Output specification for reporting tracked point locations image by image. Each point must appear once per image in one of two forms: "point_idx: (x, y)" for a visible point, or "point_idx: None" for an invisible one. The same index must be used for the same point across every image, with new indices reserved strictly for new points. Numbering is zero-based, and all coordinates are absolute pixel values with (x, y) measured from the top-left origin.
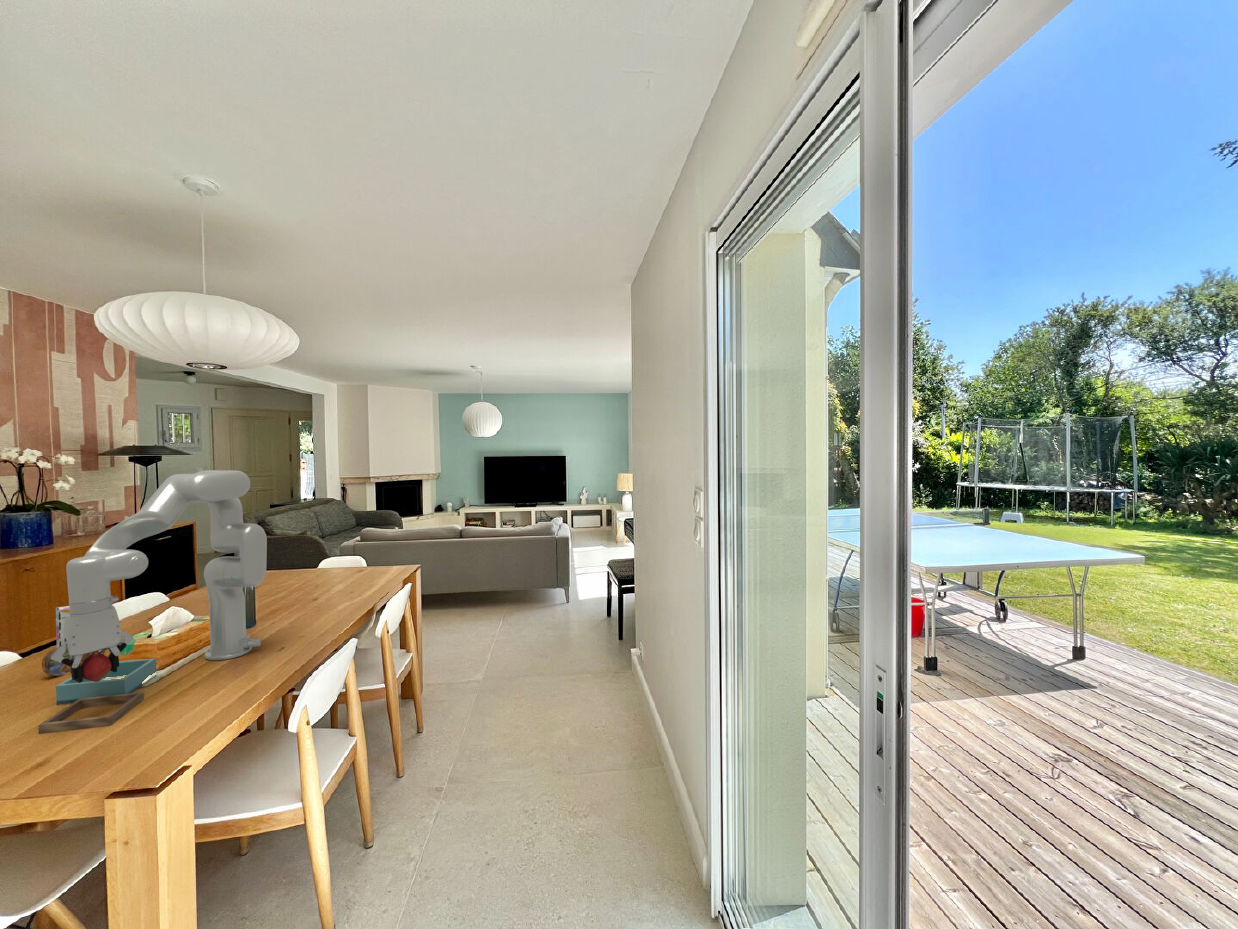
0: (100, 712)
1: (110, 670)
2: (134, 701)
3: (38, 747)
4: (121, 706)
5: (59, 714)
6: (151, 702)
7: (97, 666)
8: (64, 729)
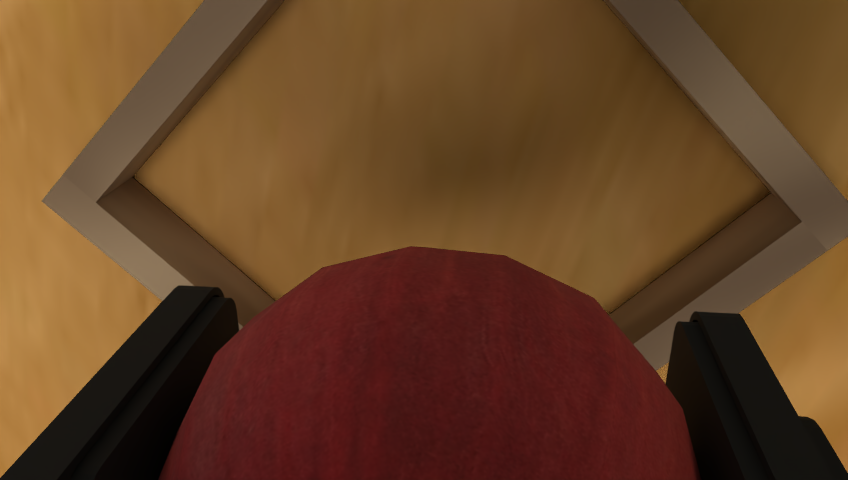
0: (493, 150)
1: (669, 376)
2: None
3: None
4: None
5: (193, 85)
6: (809, 322)
7: None
8: None
